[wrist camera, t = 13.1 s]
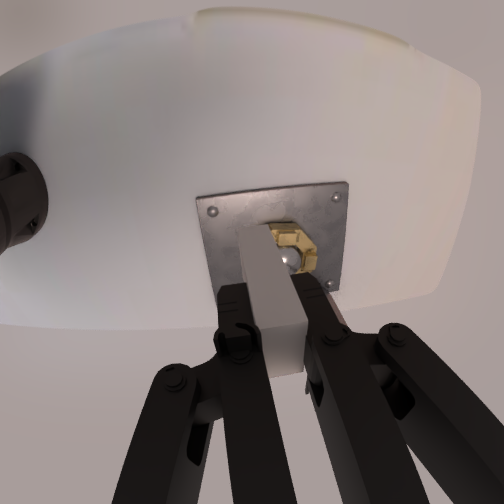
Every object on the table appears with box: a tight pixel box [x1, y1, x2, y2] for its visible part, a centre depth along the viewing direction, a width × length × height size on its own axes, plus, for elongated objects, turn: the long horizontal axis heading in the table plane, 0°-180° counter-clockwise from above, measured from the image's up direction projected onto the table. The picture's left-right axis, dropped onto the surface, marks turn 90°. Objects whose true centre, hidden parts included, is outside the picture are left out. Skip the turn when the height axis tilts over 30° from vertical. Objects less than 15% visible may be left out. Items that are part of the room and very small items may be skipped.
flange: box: [196, 182, 349, 305], centre depth 41 cm, size 22×22×4 cm
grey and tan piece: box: [268, 223, 348, 327], centre depth 36 cm, size 19×10×17 cm, turn 42°
